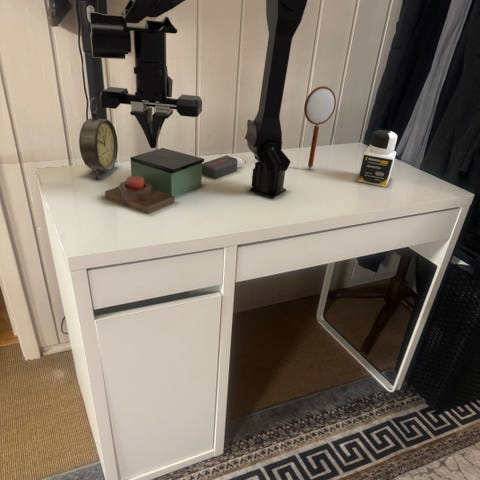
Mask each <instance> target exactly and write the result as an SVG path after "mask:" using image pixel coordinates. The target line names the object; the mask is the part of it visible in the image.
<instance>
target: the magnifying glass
mask: <svg viewBox="0 0 480 480" xmlns="http://www.w3.org/2000/svg"><path fill="white" fill-rule="evenodd" d="M336 104H337V100H336V95H335V93H334V90H332V89H331V87H328V86H318V87H316V88H314V89H313V90H311V92H310V93H309V94H308V95H307V97H306V98H305V102H304V107H303V110H304V116H305V118H306V120H307V121H308V122H309V123H310V124H312V125H314V126H313V133H312V139H311V145H310V149H309V150H310V151H309V158H308V163H307V167H308V168H307V169H308V171H311V170H312V167H313V166H314V160H315V154H316V147H317V143H318V138H319V137H318V136H319V132H320V131H319V130H320V126H319V125H322V124H324V123H326V122H327V121H329V120H330V118H332V116H333V114H334V112H335V109H336Z"/></svg>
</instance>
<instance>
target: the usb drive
mask: <svg viewBox="0 0 480 480" xmlns="http://www.w3.org/2000/svg"><path fill="white" fill-rule="evenodd" d="M241 166H242V159H240V158H238V157H234V156H230V155H223V156H220V157H218V158H215V159H211V160H209V161H208V160H207V161H204V162H202V176H204V177H207V178H210V179H212V180H217V179H219V178H221V177H224V176H227V175H229V174H232V173H235V172H237V170H238V168H240V167H241Z"/></svg>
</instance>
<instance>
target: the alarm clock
mask: <svg viewBox="0 0 480 480" xmlns="http://www.w3.org/2000/svg"><path fill="white" fill-rule="evenodd" d="M93 101H94V103H95V111H93V109H92V104H93ZM89 110H90V114H92V117H91V118H88V119H86V120H85V121H84V122H83V123H82V125H81V128H80V131H79V135H78V136H79V138H78V145H79V152H80V156H81V158H82V162H83V163H84V164H85V165H86V167H87V168H89V169H90V170H91V172H93V171H95V175H96V176H95V180H99V175H100V171H104V172H109V171H111V170H112V169H113V168H115V165H116V162H117V159H118V153H119V145H118V136H117V132H116V131H117V130H116V128H115V126H114V124H113V123H112V122H111V121H110V120H109V119H107V118H99V117H98V116H97V114H98V102H97V99H96V98H95V97H92V98H91V99H90V102H89Z"/></svg>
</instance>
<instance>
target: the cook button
mask: <svg viewBox="0 0 480 480" xmlns="http://www.w3.org/2000/svg"><path fill="white" fill-rule="evenodd" d="M125 181H126V184H127V188H129V189H135V190H137V189H143V188H145V181H144V178H142V177H139V176H132V175H131V176H128V177H126V179H125Z"/></svg>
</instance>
